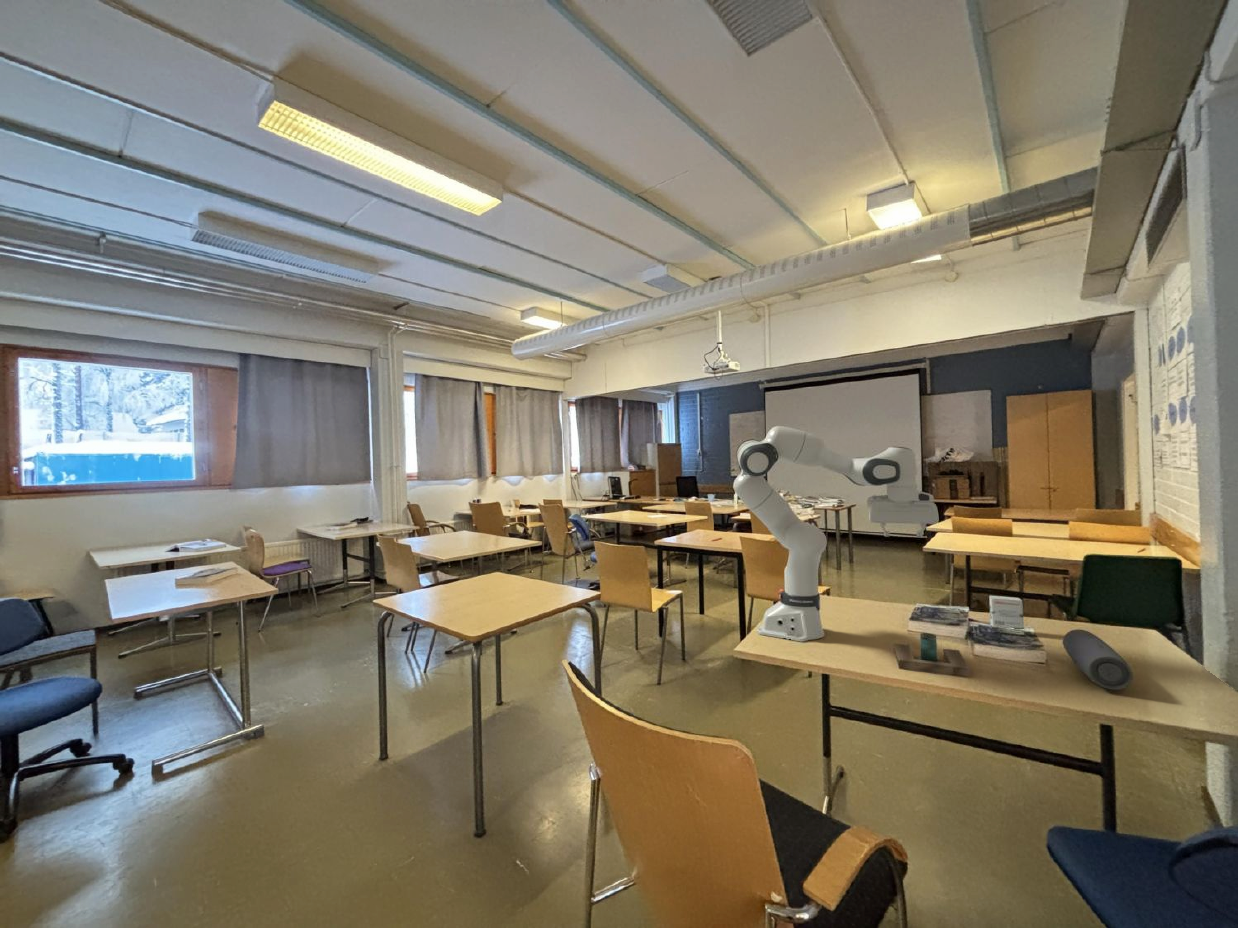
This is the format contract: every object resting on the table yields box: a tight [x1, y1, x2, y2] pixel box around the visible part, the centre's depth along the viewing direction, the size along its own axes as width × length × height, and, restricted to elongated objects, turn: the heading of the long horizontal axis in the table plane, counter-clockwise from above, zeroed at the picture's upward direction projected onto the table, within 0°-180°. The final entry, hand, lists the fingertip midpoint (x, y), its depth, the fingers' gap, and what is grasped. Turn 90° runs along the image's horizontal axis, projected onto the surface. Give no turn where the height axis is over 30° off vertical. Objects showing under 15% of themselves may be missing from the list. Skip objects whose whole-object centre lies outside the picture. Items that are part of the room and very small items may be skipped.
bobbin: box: [916, 632, 942, 662], centre depth 146 cm, size 6×6×8 cm
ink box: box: [989, 595, 1025, 630], centre depth 169 cm, size 9×5×12 cm, turn 61°
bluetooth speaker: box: [1062, 629, 1134, 690], centre depth 133 cm, size 23×9×10 cm, turn 151°
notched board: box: [893, 643, 971, 678], centre depth 145 cm, size 17×14×2 cm
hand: (903, 536), depth 165 cm, fingers open, 8 cm apart
